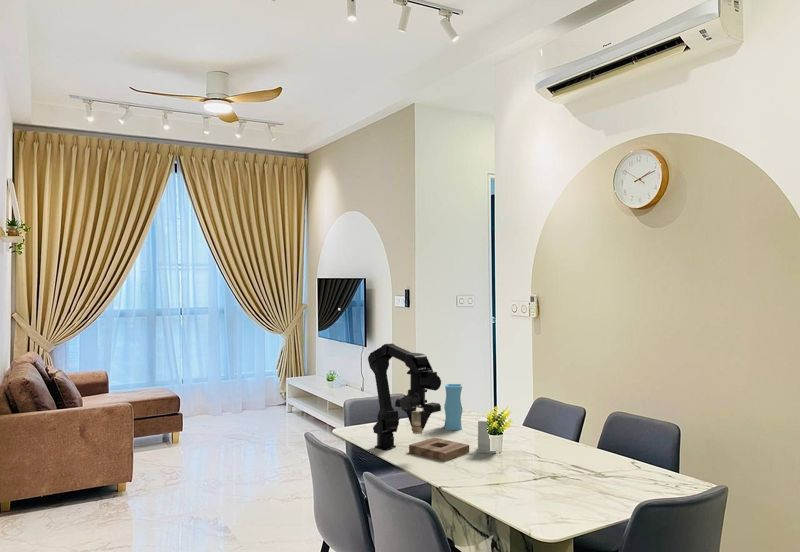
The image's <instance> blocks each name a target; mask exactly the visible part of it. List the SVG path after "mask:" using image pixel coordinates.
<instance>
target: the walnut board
mask: <svg viewBox="0 0 800 552" xmlns="http://www.w3.org/2000/svg"><path fill="white" fill-rule="evenodd" d="M408 453H410V454H415V455H419V456H423V457H426V458H431V459H435V460H439V461H444V462H448V461H450V460H452V459H456V458H457V457H460V456H464V455H466V454H468V453H470V444H466V443H462V442H457V441H453V440H452V441H451V440H448V439H443V438H439V437H435V436H433V437H431V438H427V439H424V440H421V441H417V442H413V443H411V444H409V445H408Z"/></svg>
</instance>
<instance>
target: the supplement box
mask: <svg viewBox="0 0 800 552" xmlns="http://www.w3.org/2000/svg"><path fill="white" fill-rule="evenodd" d="M487 418H488V417H478V421H477V422H478V423H477V453H481V454H496V453H497V450H496V451H490V439H489V435H488V432H487Z"/></svg>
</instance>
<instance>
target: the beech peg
mask: <svg viewBox="0 0 800 552" xmlns="http://www.w3.org/2000/svg"><path fill="white" fill-rule="evenodd" d="M420 411H421V410H416V411H412V424H410V427H411V426H412V427H411V431H412V434H414V435H422V434H423V431H424V429H425V428H424V429H422V428H421V415H420V413H419V412H420Z"/></svg>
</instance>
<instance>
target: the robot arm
mask: <svg viewBox="0 0 800 552" xmlns="http://www.w3.org/2000/svg"><path fill="white" fill-rule="evenodd" d="M392 358H395V359H397V360H398V361H401V362H403V363H404V364H405V366H406V367H407V368H408V369H409V370H408V371H407V372H406V374H407V375H409V376H410V382H409V386H410V388H409V389H408V390H407V394H406V395H404V396H403V397H401V398H397V399H396V400H395V402H394V403H395V404H394V407H396V408H400V409H401V410H402V411H404V412H405V413H406V415H407V418H408V421H409V424H410V427H411V428H412V426H411V424H412V411H417V408H419V409H422V410H419V411H420V412H419V413H420V415H421V428H422V429H425V427H426V424H427V423H428V420H429V419H430V416H431V415H432V414H434V413H438V412H441V411H442V406H441V404H440V403H438V402H429V403H428V399H426V393H428V390H431V391H435V392H436V391H438V390H439V389H440V388H441V385H442V380H441V377H440V376H439V375H438V372H437V371H434V370H433V367H432V365H431V363H430V361H429V359H428V356H427V355H426V354H424V353H420V352H411V351H409V350H407V349H405V348H402V347H400V346H398V345H396V344H394V343H384V344H383V345H381V346H380V347H379V348H376V349H375V350H374V351H372V352H370V353H369V355H368V357H367V361H368V366H369V368H370V369H371V371H372V372H373V374H374V377H375V384H376V390H377V397H378V403H379V404H378V405H379V410H378V413H377V421H376V423H375V424H374V426H373V427H372V430H373V434H377V435H376V436H377V437H376V445H374V448H376V449H380V450H384V451H387V450H390V449H391V450H392V449H394V448H396V447H397V446H396V444H395V436H394V433H396V432H398V427H399V426H400V417H399V411H398V410H395V409H394V408H393V405H392V399H391V392H390V385H389V380H388V374H387V372H388V369H389V367H390V360H392Z"/></svg>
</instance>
